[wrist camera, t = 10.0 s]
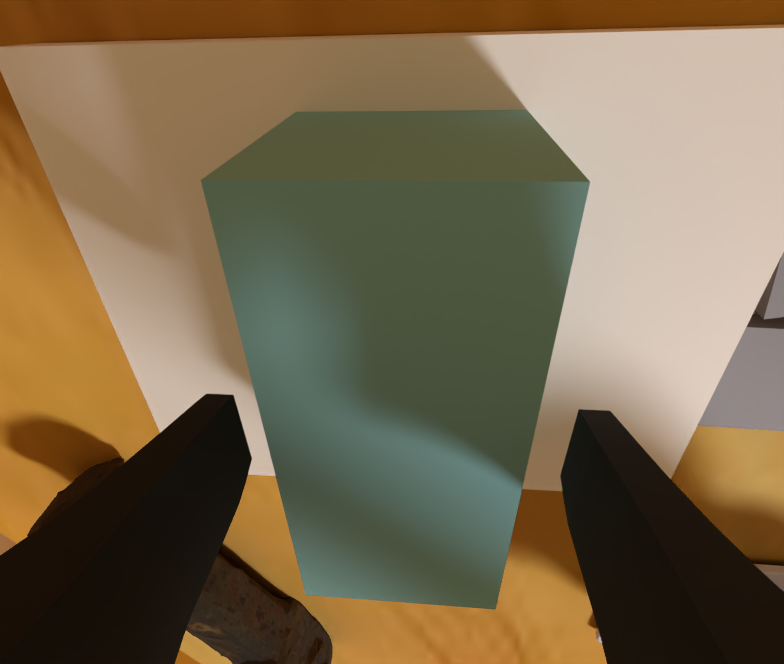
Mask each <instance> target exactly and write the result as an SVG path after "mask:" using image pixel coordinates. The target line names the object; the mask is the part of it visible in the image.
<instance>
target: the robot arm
mask: <svg viewBox="0 0 784 664" xmlns="http://www.w3.org/2000/svg"><path fill="white" fill-rule="evenodd" d="M251 461H252V457H251V453H250V450H249V447H248V443H247V440H246V436H245V433H244V429H243V426H242V422H241V419H240V416H239V412H238V409H237V405H236V402H235V398H234V395H228V394H205V395H204V396H203V397H202V398H200V399H199V400H198V401H197V402H195V403H194V404H193V405H192V406H191V407H190V408H188V409H187V410H186V411H185V412H184V413H183V414H181V415H180V416H179V417H178V418H177V419H176V420H175V421H173V422H172V423H171V424H170V425H169V426H168V427H166V428H165V429H164V430H163V431H162V432H161V433H160V434H158V435H157V436H156V437H155V438H154V439H153V440H151V441H150V442H149V443H148V444H147V445H145V446H144V447H143V448H142V449H141V450H139V451H138V452H137V453H136V454H135V455H134V456H132V457H131V458H130V459H129V460H128V461H126V462H125V463H124V464H123V465H122V466H120V467H119V468H118V469H117V470H116V471H114V472H113V473H112V474H110V475H109V476H108V477H107V478H105V479H104V480H103V481H101V482H100V483H99V484H98V485H96V486H95V487H94V488H93V489H91V490H90V491H89V492H87V493H86V494H85V495H84V496H82V497H81V498H80V499H79V500H77V501H76V502H75V503H73V504H72V505H71V506H70V507H68V508H67V509H66V510H64V511H63V512H62V513H60V514H59V515H58V516H56V517H55V518H53V519H52V520H51V521H49V522H48V523H46V524H45V525H44V526H42V527H41V528H40V529H38V530H37V531H35V532H34V533H32V534H31V535H29V536H28V537H27V538H25V539H24V540H22V541H21V542H19V543H18V544H16V545H15V546H13V547H12V548H11V549H9V550H8V551H6V552H5V553H3V554H2V555H0V664H175V661H176V658H177V655H178V652H179V649H180V646H181V642H182V639H183V636H184V633H185V631H186V628H187V626H188V623H189V620H190V618H191V615H192V613H193V610H194V608H195V605H196V603H197V601H198V598H199V596H200V594H201V591H202V589H203V587H204V584H205V582H206V580H207V578H208V575H209V573H210V571H211V568H212V566H213V564H214V561H215V559H216V557H217V554H218V552H219V550H220V548H221V545H222V543H223V541H224V538H225V536H226V534H227V531H228V529H229V527H230V524H231V522H232V519H233V517H234V515H235V512H236V510H237V507H238V505H239V502H240V499H241V496H242V493H243V489H244V486H245V483H246V479H247V475H248V472H249V468H250V465H251ZM560 478H561V484H562V491H563V497H564V504H565V509H566V515H567V521H568V526H569V529H570V533H571V537H572V540H573V544H574V547H575V551H576V554H577V558H578V561H579V565H580V568H581V572H582V575H583V579H584V582H585V585H586V589H587V592H588V596H589V599H590V603H591V606H592V610H593V613H594V616H595V620H596V623H597V627H598V628H597V630H596V638H597V640H598V641H599V642H600V643H602V645H603V649H604V653H605V657H606V661H607V664H784V566H779V565H763V564H753V563H752V562H751V561H750V560H749V559H748V558H747V557H746V556H745V555H744V554H743V553H742V552H741V551H740V550H739V549H738V548H737V547H736V546H735V545H734V544H733V543H732V542H731V541H730V540H728V539H727V538H726V537H725V536H724V535H723V534H722V533H721V532H720V531H719V530H718V529H717V528H716V527H715V526H714V525H713V524H712V523H711V522H710V520H709V519H708V518H707V517H706V516H705V515H704V514H703V513H702V512H701V511H700V510H699V509H698V508H697V507H696V506H695V505H694V504H693V503H692V502H691V500H690V499H689V498H688V497H687V496H686V495H685V494H684V493H683V492H682V491H681V490H680V489H679V488H678V487H677V486H676V484H675V483H674V482H673V481H672V480H671V479H670V478H669V477H668V476H667V475H666V473H665V472H664V471H663V470H662V469H661V468H660V467H659V466H658V465H657V463H656V462H655V461H654V460H653V459H652V458H651V457H650V456H649V454H648V453H647V452H646V451H645V450H644V449H643V448H642V446H641V445H640V444H639V443H638V442H637V441H636V440H635V438H634V437H633V436H632V435H631V434H630V433H629V431H628V430H627V429H626V428H625V427H624V426H623V425H622V423H621V422H620V421H619V420H618V419H617V418H616V417H615V416H614V415H613V413H612V412H611V411H607V410H583V409H579V410H578V413H577V417H576V421H575V424H574V428H573V431H572V435H571V439H570V442H569V446H568V449H567V453H566V456H565V460H564V464H563V467H562V471H561V474H560Z"/></svg>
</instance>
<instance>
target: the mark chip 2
mask: <svg viewBox="0 0 784 664" xmlns="http://www.w3.org/2000/svg"><path fill="white" fill-rule="evenodd" d="M755 312H757V313H758V314H759V315H760V316H761V317H762V318H763V319H771V318H779V317H784V252H783V254H782V256H781V258H780V260H779V262H778V264H777V266H776V268H775V270H774V272H773V274H772V276H771V278H770V280H769V282H768V284H767V286H766V288H765V290H764V292H763V294H762V296H761V298H760V300H759V302H758V304H757V306H756V308H755Z"/></svg>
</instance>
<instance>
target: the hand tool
mask: <svg viewBox="0 0 784 664" xmlns="http://www.w3.org/2000/svg"><path fill="white" fill-rule="evenodd" d="M123 464H124V459H121V458H116V459H113V460H112V461H109V462H106V463H102V464H98V465H96V466H94V467H92V468H90V469H88V470H87V471H85V472H84V473H83V474H81V475H80V476H79V477H77V478H76V479H75V481H74V482H72V483H71V484H70V485H69V486H68V487H67V488H65V489H64V490H63V491H60V492H58V494H57V496H56V497H55V498H54V499H53V501H52V502H51V503H50V505H49V506H48V507H47V509H46V510H45V511H44V513H43V514H42V515H41V516H40V517H39V518H38V520H37V521H36V522H35V524H34V525H33V527H32V528H31V530H30V531H29V533H28V536H29V535H31V534H32V533H34V532H35V531H37V530H38V529H40V528H41V527H42V526H44V525H45V524H46V523H48V522H49V521H51V520H52V519H53V518H55V517H56V516H58V515H59V514H60V513H62V512H63V511H64V510H66V509H67V508H68V507H70V506H71V505H72V504H73V503H75V502H76V501H77V500H79V499H80V498H81V497H82V496H84V495H85V494H86V493H87V492H89V491H90V490H91V489H93V488H94V487H95V486H96V485H98V484H99V483H100V482H101V481H103V480H104V479H105V478H107V477H108V476H109V475H110V474H112V473H113V472H114V471H116V470H117V469H118V468H119V467H120V466H122V465H123ZM186 630H187V631H188V632H189V633H190V634H192V635H193V636H195V637H197V638H199V639H200V640H202V641H203V642H205V643H206V644H207V645H209V646H210V647H211V648H213V649H214V650H216V651H217V652H219V653H220V654H221V656H224V657H227V658H228V659H229V660H230V661H231V662H232V663H233V664H331V659H332V643H331V639H330V638H329V636H328V634H327V633H326V631H325V630H324V629H323V627H322V625H321V624H320V623H319V622H318V621H317V620H316V619H315V618H314V617H313V616H312V615H311V614H310V613H309V612H308V611H307V610H306V609H305V607H304V606H303V605H302V604H301V603H300V602H299V601H297V600H296V599H294V598H286V597H276V596H274V595H272V594H271V593H270V592H268V591H267V590H266V589H264V588H262V587H261V586H260V585H259V584H258V583H257V582H256V581H254V580H253V579H252V578H250V577H249V576H248V575H247V574H246V573H245V571H244V570H243V569H240V568H236V567H234V566H233V565H232V564H231V563H230V562H228V561H227V560H226V559H225V558H224V557H223V556H221V555H220V554H219V553H218V554H217V557H216V559H215V561H214V564H213V566H212V568H211V571H210V573H209V575H208V578H207V580H206V582H205V584H204V587H203V589H202V591H201V594H200V596H199V598H198V601H197V603H196V605H195V608H194V610H193V613H192V615H191V618H190V620H189V623H188V626H187V628H186Z"/></svg>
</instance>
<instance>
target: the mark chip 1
mask: <svg viewBox="0 0 784 664" xmlns="http://www.w3.org/2000/svg"><path fill="white" fill-rule="evenodd" d="M697 426H713V427H728V428H744V429H759V430H775V431H784V317H779V318H771V319H763V318H762V317H761V316H760V315H759V314H753V315H752V317H751V319H750V321H749V323H748V325H747V327H746V329H745V331H744V333H743V335H742V337H741V339H740V341H739V343H738V345H737V347H736V349H735V351H734V353H733V355H732V357H731V359H730V361H729V363H728V365H727V367H726V369H725V371H724V373H723V375H722V377H721V379H720V381H719V383H718V385H717V387H716V389H715V391H714V393H713V395H712V397H711V399H710V401H709V403H708V405H707V407H706V409H705V411H704V413H703V415H702V417H701V419H700V421H699V423H698V425H697Z"/></svg>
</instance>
